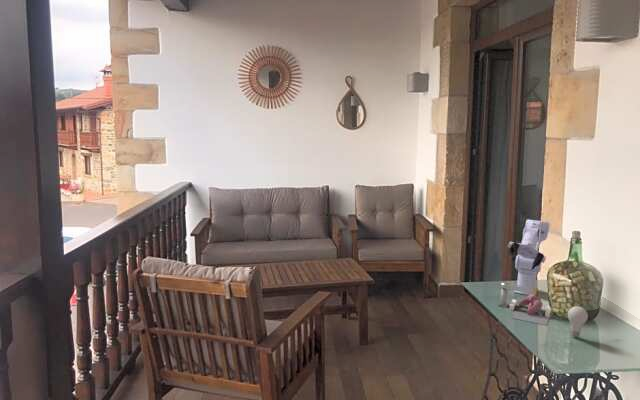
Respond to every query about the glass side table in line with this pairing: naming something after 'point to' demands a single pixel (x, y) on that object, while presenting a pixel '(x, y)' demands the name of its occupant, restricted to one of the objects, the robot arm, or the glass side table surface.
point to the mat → (530, 317)
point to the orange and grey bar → (518, 288)
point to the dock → (504, 303)
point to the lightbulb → (577, 319)
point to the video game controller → (531, 303)
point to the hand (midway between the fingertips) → (523, 262)
